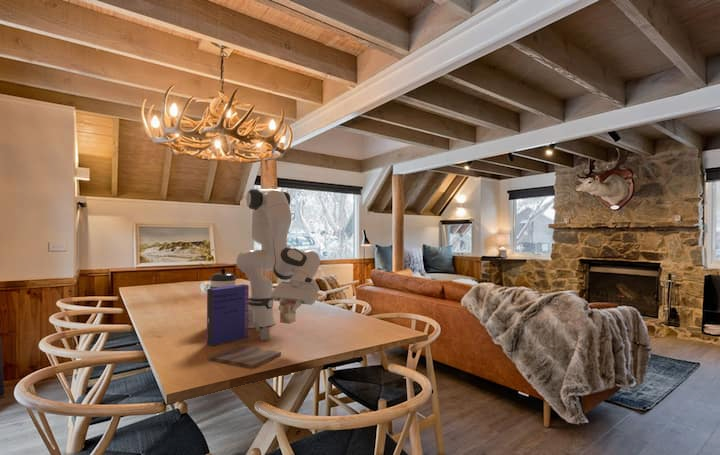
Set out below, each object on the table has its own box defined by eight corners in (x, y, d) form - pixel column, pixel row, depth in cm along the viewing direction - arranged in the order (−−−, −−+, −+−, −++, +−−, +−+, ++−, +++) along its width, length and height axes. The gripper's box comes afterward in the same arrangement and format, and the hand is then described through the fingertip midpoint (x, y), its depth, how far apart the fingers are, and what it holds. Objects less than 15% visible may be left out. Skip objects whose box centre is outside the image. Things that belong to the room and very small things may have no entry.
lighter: (269, 338, 169) (269, 320, 169) (269, 339, 167) (269, 321, 167) (253, 339, 167) (253, 321, 167) (253, 340, 166) (253, 322, 166)
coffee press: (199, 329, 184) (199, 269, 185) (219, 322, 200) (220, 266, 200) (228, 332, 179) (229, 270, 180) (247, 324, 195) (248, 267, 195)
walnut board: (207, 359, 140) (207, 356, 140) (237, 347, 155) (237, 344, 155) (253, 368, 131) (253, 365, 131) (280, 355, 146) (280, 351, 146)
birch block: (280, 322, 151) (280, 302, 151) (286, 320, 155) (286, 301, 155) (289, 323, 149) (289, 303, 149) (295, 321, 153) (295, 301, 153)
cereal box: (242, 335, 173) (242, 284, 173) (248, 337, 170) (248, 285, 170) (206, 344, 160) (207, 288, 160) (212, 346, 157) (212, 289, 157)
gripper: (277, 277, 162) (262, 303, 153) (317, 280, 154) (304, 308, 145) (283, 285, 166) (269, 312, 157) (322, 289, 158) (310, 317, 149)
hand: (286, 310), depth 151 cm, fingers closed on birch block, 4 cm apart
